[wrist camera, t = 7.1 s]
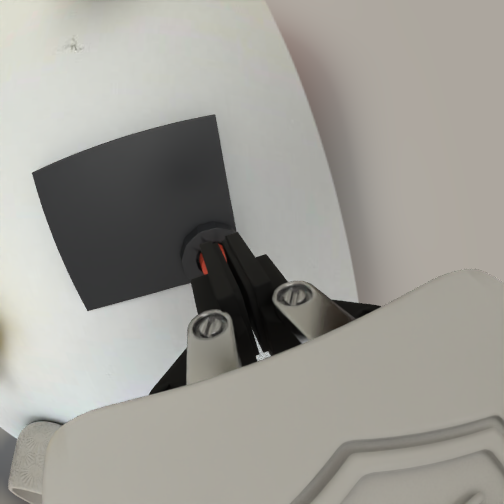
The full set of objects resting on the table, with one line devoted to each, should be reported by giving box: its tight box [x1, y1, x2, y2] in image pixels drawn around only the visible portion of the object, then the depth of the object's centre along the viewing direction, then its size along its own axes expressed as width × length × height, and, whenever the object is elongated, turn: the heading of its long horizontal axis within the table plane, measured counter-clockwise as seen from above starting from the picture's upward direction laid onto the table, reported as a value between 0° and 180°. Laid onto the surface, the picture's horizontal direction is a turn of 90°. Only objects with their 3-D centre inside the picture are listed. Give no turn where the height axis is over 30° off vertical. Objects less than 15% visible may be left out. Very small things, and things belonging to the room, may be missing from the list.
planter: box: [8, 421, 62, 504], centre depth 25 cm, size 17×17×15 cm
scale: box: [32, 115, 236, 311], centre depth 22 cm, size 16×14×3 cm
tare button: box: [199, 244, 227, 275], centre depth 23 cm, size 3×3×2 cm
